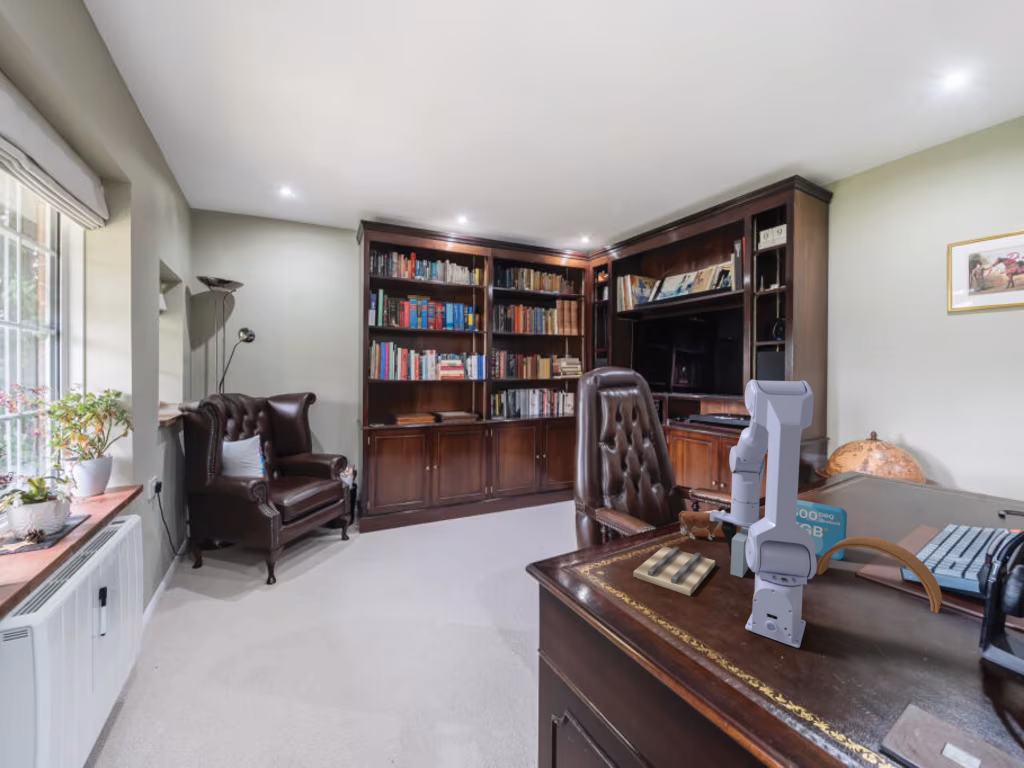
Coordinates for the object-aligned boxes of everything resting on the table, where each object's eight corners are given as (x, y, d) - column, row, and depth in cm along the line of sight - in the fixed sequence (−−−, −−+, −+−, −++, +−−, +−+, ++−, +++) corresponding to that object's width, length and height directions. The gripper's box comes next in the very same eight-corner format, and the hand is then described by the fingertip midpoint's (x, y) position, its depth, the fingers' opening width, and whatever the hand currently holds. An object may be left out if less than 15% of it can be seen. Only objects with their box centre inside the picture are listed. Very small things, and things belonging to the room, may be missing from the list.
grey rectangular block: (742, 577, 95) (743, 542, 95) (730, 574, 97) (731, 539, 96) (753, 560, 104) (755, 527, 104) (742, 557, 106) (743, 524, 106)
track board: (689, 595, 87) (690, 585, 87) (633, 576, 95) (633, 566, 94) (714, 565, 101) (715, 556, 101) (663, 551, 108) (663, 542, 108)
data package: (785, 547, 112) (787, 501, 112) (788, 542, 116) (790, 498, 115) (843, 561, 104) (845, 512, 104) (845, 556, 108) (847, 508, 107)
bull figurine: (732, 543, 114) (733, 513, 114) (678, 538, 117) (679, 508, 116) (728, 537, 118) (729, 508, 118) (676, 532, 121) (677, 504, 121)
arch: (823, 566, 102) (825, 524, 101) (942, 604, 86) (945, 554, 86) (814, 573, 98) (816, 530, 98) (937, 614, 82) (940, 562, 82)
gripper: (784, 502, 99) (782, 561, 99) (716, 490, 108) (714, 544, 108) (779, 510, 93) (776, 572, 94) (708, 496, 102) (706, 553, 103)
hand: (742, 557), depth 101 cm, fingers open, 4 cm apart
